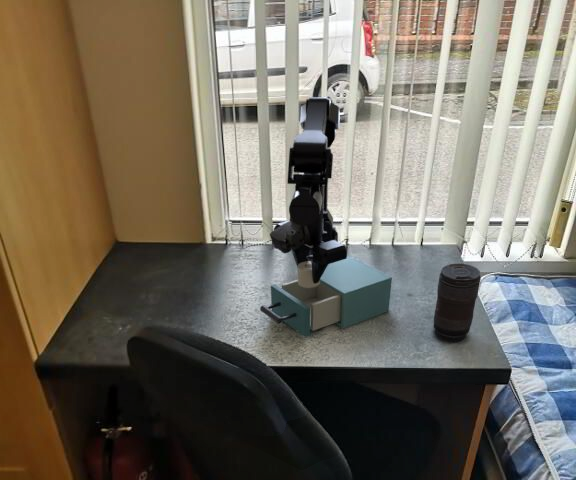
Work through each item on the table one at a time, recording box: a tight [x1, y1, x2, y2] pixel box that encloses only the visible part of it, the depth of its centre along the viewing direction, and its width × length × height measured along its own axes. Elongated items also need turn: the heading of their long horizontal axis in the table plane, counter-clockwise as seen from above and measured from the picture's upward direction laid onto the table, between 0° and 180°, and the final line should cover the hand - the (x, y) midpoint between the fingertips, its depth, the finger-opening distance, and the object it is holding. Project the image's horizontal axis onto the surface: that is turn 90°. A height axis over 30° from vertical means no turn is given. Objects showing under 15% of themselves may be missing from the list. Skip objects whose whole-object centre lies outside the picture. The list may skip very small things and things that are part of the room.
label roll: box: [297, 261, 320, 288], centre depth 123 cm, size 5×5×4 cm
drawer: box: [259, 279, 342, 338], centre depth 126 cm, size 17×13×7 cm
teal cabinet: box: [320, 255, 393, 329], centre depth 132 cm, size 14×15×9 cm
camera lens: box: [433, 263, 482, 344], centre depth 119 cm, size 8×8×15 cm
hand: (308, 278), depth 124 cm, fingers closed on label roll, 5 cm apart
